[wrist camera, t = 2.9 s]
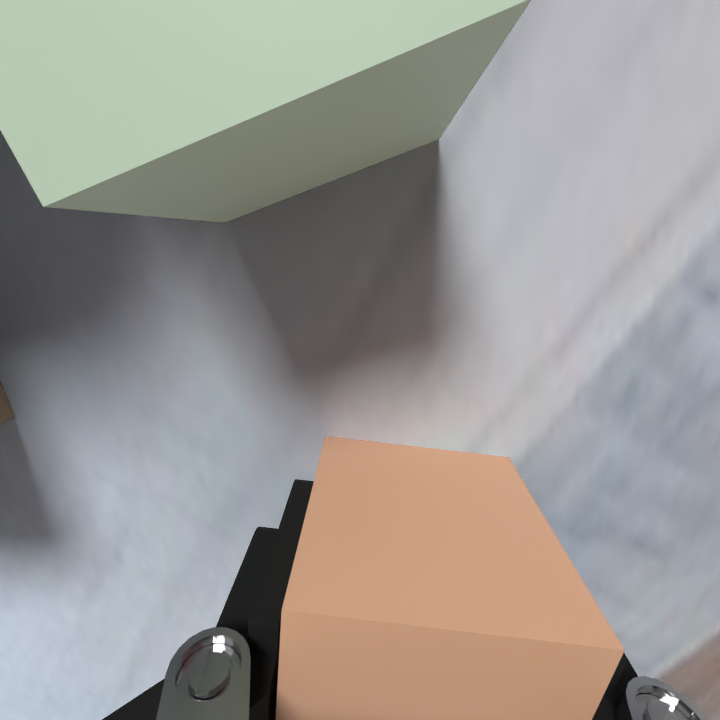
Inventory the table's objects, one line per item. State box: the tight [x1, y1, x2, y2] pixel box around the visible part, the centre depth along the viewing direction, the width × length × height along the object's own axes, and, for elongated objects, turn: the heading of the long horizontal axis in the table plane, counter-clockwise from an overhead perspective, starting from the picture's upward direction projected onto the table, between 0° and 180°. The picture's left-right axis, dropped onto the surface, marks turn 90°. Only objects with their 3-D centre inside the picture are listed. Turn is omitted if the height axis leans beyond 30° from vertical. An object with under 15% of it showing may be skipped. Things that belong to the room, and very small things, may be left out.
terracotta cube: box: [276, 436, 625, 720], centre depth 9 cm, size 5×5×5 cm
